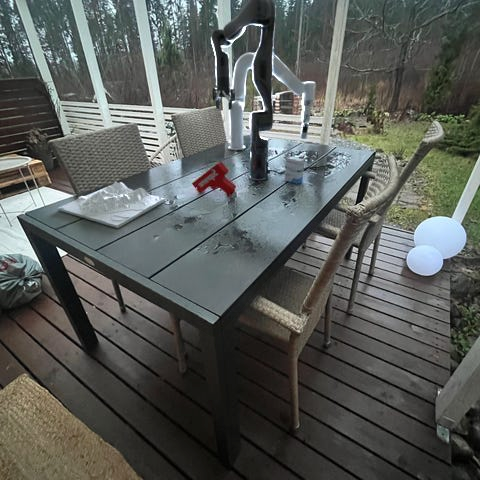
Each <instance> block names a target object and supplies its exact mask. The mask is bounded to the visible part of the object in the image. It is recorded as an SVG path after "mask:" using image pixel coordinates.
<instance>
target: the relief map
mask: <svg viewBox="0 0 480 480" xmlns="http://www.w3.org/2000/svg"><path fill="white" fill-rule="evenodd" d="M164 202H166V198H165V197H162V196H157V195H153V194H150V193H149V192H148V191H147V190H145V189H144V188H143V187H138V188H136V189H132V188H129V187H128V186H126V184H125V183H123V182H122V181H119V182H118V181H117V180H115V181H114V182H113V183H112V184H111V185H107V186H106V187H103V188H101V189H99V190H97V191H93V192H92V193H89V194H87V195H80V196H79V197H78V198H76V199H75V200H73V201H70V202H68V203H65V204H64V205H61V206H59V207H57V209H58V211H60V212H63V213H67V214H70V215H73V216H76V217H79V218H83V219H86V220H89V221H94V222H96V223H100V224H102V225H106V226H109V227H112V228H116V229H119V228H121V227H123V226H124V225H126V224H128V223H130V222H131V221H134V220H135V219H137V218H139V217H141V216H142V215H143V214H145V213H147V212H149V211H151V210H152V209H154V208H156V207H158V206H159V205H161V204H163V203H164Z"/></svg>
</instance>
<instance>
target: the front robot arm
mask: <svg viewBox="0 0 480 480" xmlns="http://www.w3.org/2000/svg"><path fill="white" fill-rule="evenodd" d="M276 15H277V8H276V2H275V1H274V0H249V1H247V2H246V4H245V5H244V6H243V8H242V9H241V10H240V11H239V12H238V13H237V15H236V16H235V17H233V19H231V20H230V21H229V22H227V23H226V24H225V25H224V26H223V28H222V29H220V28H215V29H213V30H212V32H211V35H210V41H211V45H212V48H213V52H214V56H215V85H216V87H212V88H211V89H212V91H211V92H212V93H211V95H212V101H215V107H216V110H220V108H221V104H220V103H221V102H220V100H221V99H222V98H225V99H226V100H227V101H228V102H227V103H228V106H227V107H228V111H229V110H231V109H232V102H233V101H235V89H232V88H230V86H231V70H230V55H229V53H228V52H226V51H224V50H223V49H222V48H228V47H230V46H231V45H232V44H233V43H234V41H235V40H237V39H238V38H240V37H241V36H242V35H243V34H244V32H245V30H246V27H248V26H251V25H254V26H259V27H260V26H261V35H260V42H259V45H258V47H257V50H256V52H255V53H256V54H255V57H254V59H253V64H252V67H253V68H251V70H252V75H251V76H252V82H253V84H254V86H255V88H256V91H257V92H258V95H259V96H260V98H261V102H262V107H263V109H262V110H257V111H252V112H251V113H250V115H249V141H250V155H249V157H250V158H249V160H250V161H249V165H250V166H249V167H250V168H249V178H250V180H253V181H256V182H257V181H265V180H268V179H269V175H270V174H271V172H273V173H276V174H278V175H281V174H285V170H283V171H278V170H275V169H271V168H270V167H269V142H270V141H269V139H268V138H265V137H263V136H261V134H260V132H269V131H271V130H272V129H273V126H274V107H273V106H274V105H273V104H274V103H273V79H274V78H273V76H274V75H273V53H274V39H275V28H276V17H277V16H276ZM329 164H330V165H329ZM329 164H325V165H326V166H325V165H320V166H319V165H318V166H319V167H317V166H307V167H306V166H305V167H306V168H304V170H309V169H320V168H326V167H331V166H332V164H331V163H329Z"/></svg>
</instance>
